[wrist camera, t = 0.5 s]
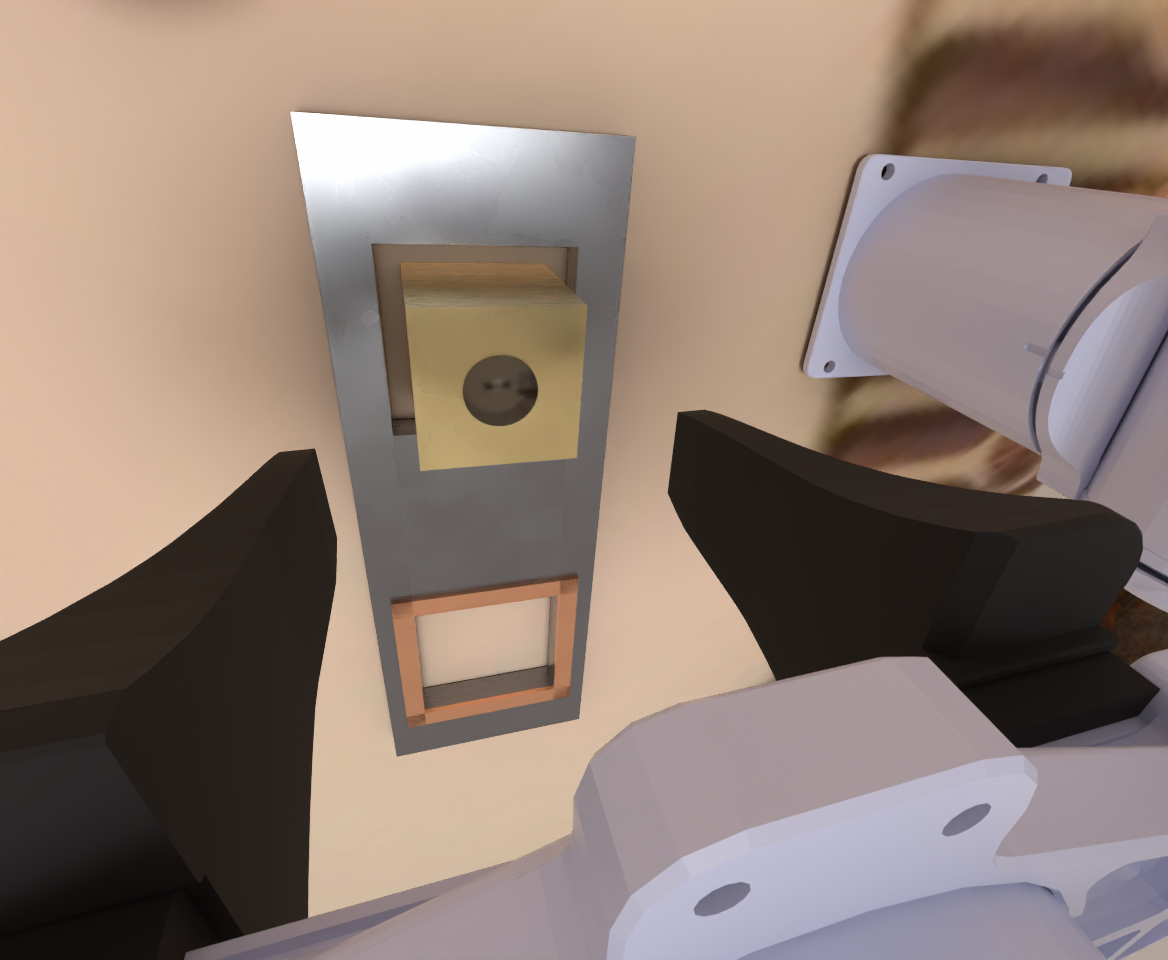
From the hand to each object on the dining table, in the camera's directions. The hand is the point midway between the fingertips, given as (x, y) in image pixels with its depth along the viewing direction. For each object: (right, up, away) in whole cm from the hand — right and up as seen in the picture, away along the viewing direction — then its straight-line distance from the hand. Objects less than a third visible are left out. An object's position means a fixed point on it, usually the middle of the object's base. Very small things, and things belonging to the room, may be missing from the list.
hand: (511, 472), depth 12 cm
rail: (-3, -1, +11) cm, 12 cm away
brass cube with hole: (-2, +5, +8) cm, 9 cm away
